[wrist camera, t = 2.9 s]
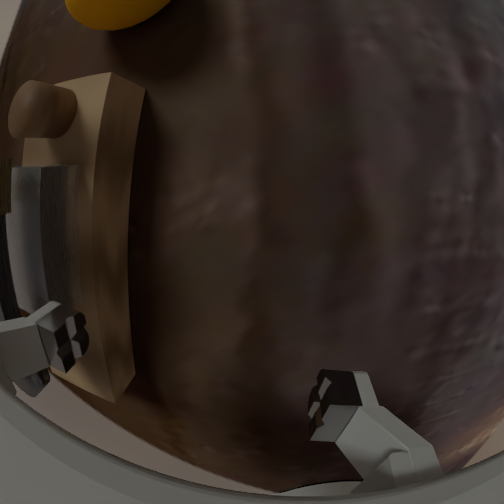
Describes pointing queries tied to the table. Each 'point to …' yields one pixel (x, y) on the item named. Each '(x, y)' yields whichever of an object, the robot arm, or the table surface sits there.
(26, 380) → the lever
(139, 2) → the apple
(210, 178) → the table surface
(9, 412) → the robot arm
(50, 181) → the lever cap
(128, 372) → the plane body
